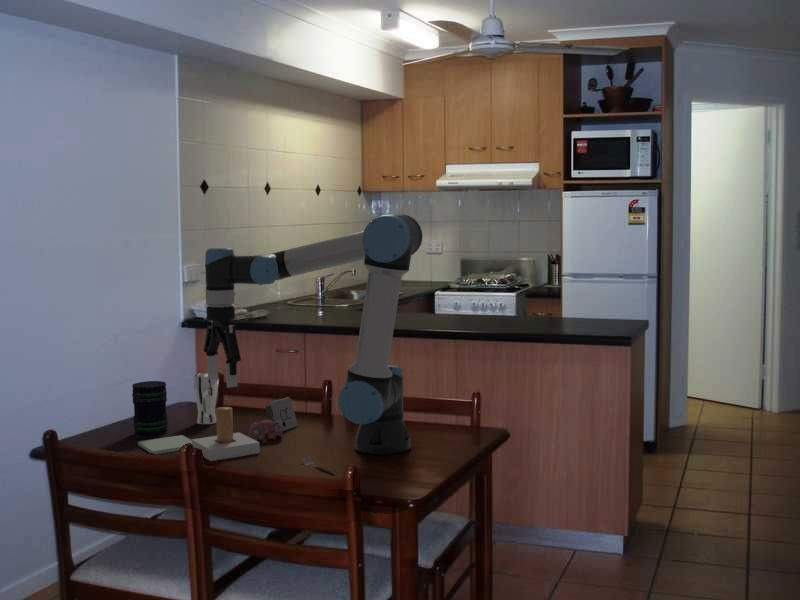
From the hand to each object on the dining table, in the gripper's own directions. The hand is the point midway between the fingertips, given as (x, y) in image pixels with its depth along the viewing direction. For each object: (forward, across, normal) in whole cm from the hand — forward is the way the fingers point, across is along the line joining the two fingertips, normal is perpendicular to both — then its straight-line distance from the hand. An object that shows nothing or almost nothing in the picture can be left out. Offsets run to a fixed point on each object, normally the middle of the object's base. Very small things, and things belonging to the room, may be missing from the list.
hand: (222, 383), depth 254 cm
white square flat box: (+19, 0, 0) cm, 19 cm away
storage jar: (+20, +33, +10) cm, 39 cm away
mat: (+19, +15, +11) cm, 26 cm away
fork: (+19, -30, -13) cm, 38 cm away
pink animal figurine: (+19, +6, -15) cm, 25 cm away
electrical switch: (+19, +15, -24) cm, 34 cm away
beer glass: (+19, +37, -9) cm, 42 cm away
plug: (+19, 0, 0) cm, 19 cm away
